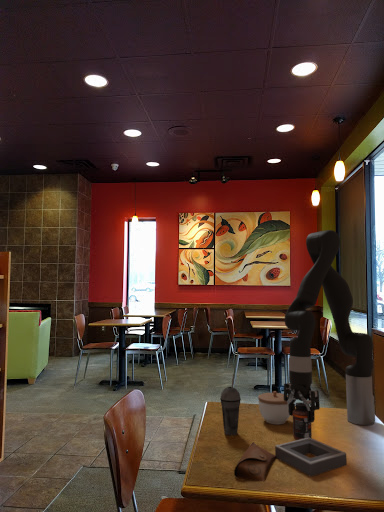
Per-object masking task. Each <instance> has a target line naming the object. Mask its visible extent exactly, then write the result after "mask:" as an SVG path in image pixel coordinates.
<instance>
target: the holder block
mask: <svg viewBox="0 0 384 512" xmlns="http://www.w3.org/2000/svg"><path fill="white" fill-rule="evenodd" d="M274 451H275V453H274V455H275V456H276V458H277V460H280V461H282V462H283V463H285V464H287V465H289V466H291V467H292V468H294V469H297V470H298V471H300V472H302V473H304V474H305V475H307V476H309V477H313V476H316V475H320V474H323V473H326V472H330V471H332V470H335V469H339V468H343V467H345V466H347V452H345V451H342V450H340V449H338V448H335V447H333V446H331V445H329V444H326V443H324V442H321V441H319V440H317V439H314V438H310V437H308V438H304V439H300V440H296V439H295V440H293V441H288V442H283V443H281V444H276V445H275V446H274ZM309 454H310V455H313V457H308V456H307V455H309ZM276 458H275V459H276Z"/></svg>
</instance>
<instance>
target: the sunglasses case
mask: <svg viewBox="0 0 384 512" xmlns="http://www.w3.org/2000/svg"><path fill="white" fill-rule="evenodd" d="M275 459H276V456H275V454H273V453H272V452H269V451H268V450H266V449H265V448H263V447H261V446H259V445H258V444H256V443H255V442H252V443H251V444H250V445H249V447H248V448H247V449H246V450H245V452H244V453H243V454H242V455H241V457H240V459H239V461H238V462H237V464H236V466H235V467H234V470H233V474H234V476H235V478H238V479H242V480H251V481H256V482H257V481H258V482H265V480H266V477H267V474H268V472H269V469H270V467H271V466H272V463H273V462H274V461H275Z"/></svg>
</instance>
